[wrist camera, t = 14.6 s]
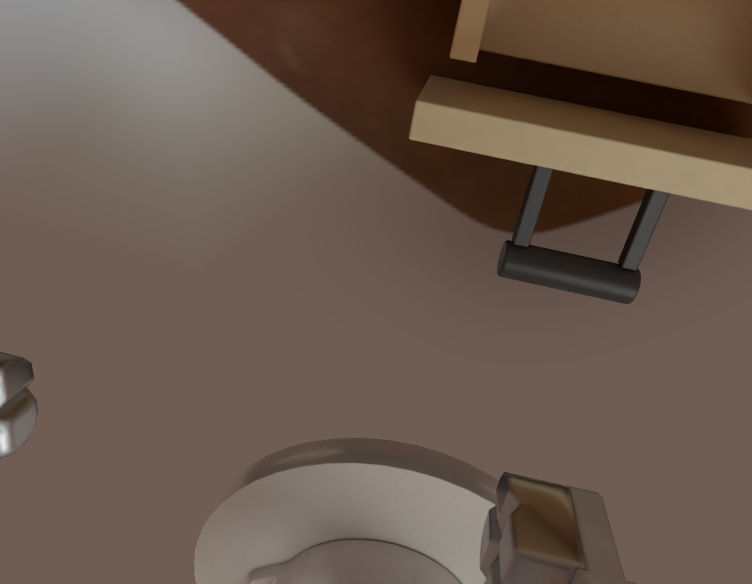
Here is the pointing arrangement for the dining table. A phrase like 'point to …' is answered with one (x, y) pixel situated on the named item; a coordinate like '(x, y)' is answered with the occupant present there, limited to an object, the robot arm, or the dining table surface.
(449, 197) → the dining table surface
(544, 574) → the robot arm
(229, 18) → the dining table surface
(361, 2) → the dining table surface
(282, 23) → the dining table surface
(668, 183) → the drawer
